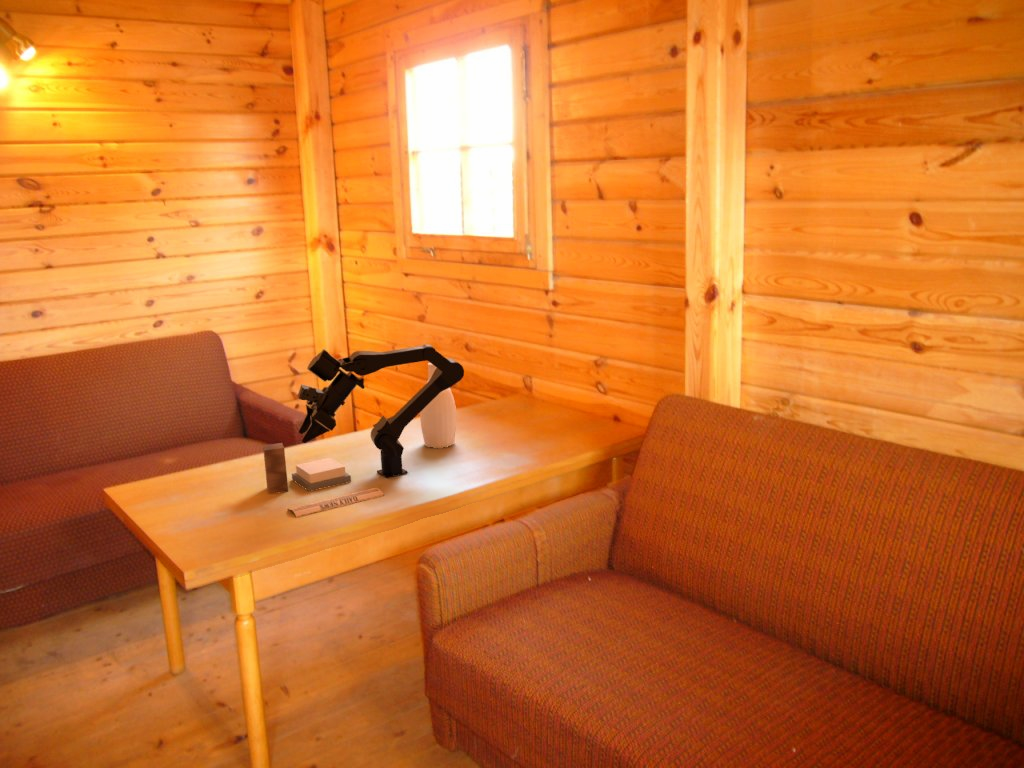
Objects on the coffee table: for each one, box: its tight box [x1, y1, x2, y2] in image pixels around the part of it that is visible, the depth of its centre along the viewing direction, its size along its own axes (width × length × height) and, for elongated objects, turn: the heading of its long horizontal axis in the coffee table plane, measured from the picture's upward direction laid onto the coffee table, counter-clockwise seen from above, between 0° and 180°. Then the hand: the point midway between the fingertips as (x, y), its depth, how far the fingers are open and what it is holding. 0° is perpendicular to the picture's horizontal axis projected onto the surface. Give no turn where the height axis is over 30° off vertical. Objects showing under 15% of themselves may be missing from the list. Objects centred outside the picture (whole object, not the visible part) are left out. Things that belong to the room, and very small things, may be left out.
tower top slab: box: [295, 457, 347, 483], centre depth 242 cm, size 10×10×2 cm
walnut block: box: [262, 442, 289, 495], centre depth 235 cm, size 5×5×12 cm
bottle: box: [419, 362, 457, 449], centre depth 269 cm, size 11×11×25 cm
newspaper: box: [286, 487, 384, 518], centre depth 225 cm, size 24×7×2 cm, turn 125°
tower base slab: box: [291, 471, 352, 492], centre depth 242 cm, size 12×12×2 cm
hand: (301, 437), depth 237 cm, fingers open, 9 cm apart
